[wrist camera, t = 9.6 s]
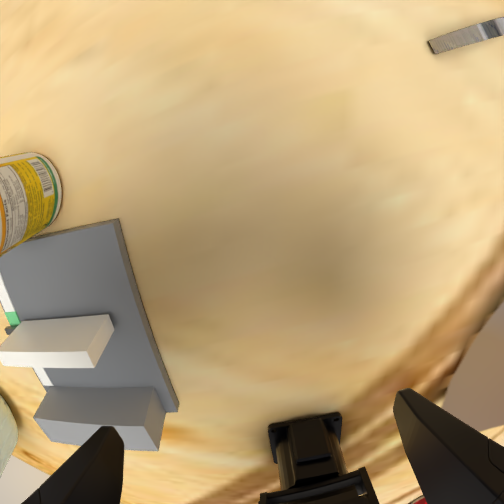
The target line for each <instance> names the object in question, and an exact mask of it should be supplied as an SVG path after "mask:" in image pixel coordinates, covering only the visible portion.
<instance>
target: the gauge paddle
mask: <svg viewBox="0 0 504 504" xmlns="http://www.w3.org/2000/svg"><path fill="white" fill-rule="evenodd" d="M5 331H6V333H7V335H9V336H8V337H7V339H6V340H5V341H4V342H3V343H2V344H1V346H0V360H1V362H2V364H3V366H16V367H38V368H95V366H96V364H97V362H98V360H99V358H100V356H101V354H102V352H103V351H104V349H105V347H106V345H107V343H108V341H109V339H110V337H111V335H112V333H113V332H114V327H113V324H112V322H111V319H110V317H109V314H105V315H94V316H83V317H72V318H59V319H46V320H32V321H22V322H21V323H20V324H19V325H18V326H9V327H6V328H5Z"/></svg>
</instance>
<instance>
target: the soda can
mask: <svg viewBox="0 0 504 504" xmlns="http://www.w3.org/2000/svg"><path fill="white" fill-rule="evenodd" d="M411 504H427V502H426V500H425V497H424V495H423V496H421V497H419V498H418V499H416V500H414V501H413V502H412V503H411Z"/></svg>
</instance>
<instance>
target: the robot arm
mask: <svg viewBox="0 0 504 504" xmlns="http://www.w3.org/2000/svg"><path fill="white" fill-rule="evenodd" d="M393 412H394V416H395V419H396V423H397V426H398V429H399V433H400V436H401V439H402V443H403V446H404V449H405V452H406V455H407V457H408V459H409V462H410V464H411V466H412V469H413V471H414V473H415V476H416V478H417V481H418V483H419V485H420V488H421V490H422V493H423V495H424V497H425V500H426V502H427V504H504V447H503V446H501V445H500V444H498V443H496V442H495V441H493V440H491V439H488V437H486V436H485V435H483V434H481V433H480V432H478V431H477V430H475V429H473V428H472V427H470V426H469V425H467V424H465V423H464V422H462V421H461V420H459V419H457V418H456V417H454V416H453V415H451V414H450V413H448V412H447V411H445V410H443V409H442V408H440V407H439V406H437V405H436V404H434V403H432V402H431V401H429V400H428V399H426V398H425V397H423V396H422V395H420V394H419V393H417V392H415V391H414V390H412V389H411V388H405V389H402V390H399V391H398V392H397V393H396V397H395V402H394V406H393ZM341 426H342V416H341V414H340V413H334V414H329V415H324V416H319V417H314V418H309V419H303V420H298V421H292V422H285V423H279V424H272V425H270V426H269V427H268V433H269V439H270V444H271V449H272V454H273V460H274V463H276V464H278V469H279V477H280V485H281V491H276V492H271V493H267V492H265V493H260V501H259V502H258V504H379V501H378V499H377V496H376V494H375V491H374V489H373V486H372V483H371V481H370V478H369V476H368V473H367V471H366V468H365V467H362V468H359V470H356V471H353V472H350V473H348V471H347V468H346V465H345V461H344V458H343V454H342V451H341V448H340V436H341ZM123 465H124V441H123V439H122V438H121V436H120V435H119V433H118V432H117V430H116V429H115V427H113V426H101V427H100V428H99V429H98V430H97V431H96V432H95V433H94V434H93V435H92V436H91V437H90V438H89V439H88V440H87V441H86V442H85V443H84V444H83V445H82V446H81V447H80V448H79V449H78V450H77V451H76V452H75V453H74V454H73V455H72V456H71V457H70V458H69V459H68V460H67V461H65V462H64V463H63V464H62V465H61V466H60V467H59V468H58V469H57V470H56V471H55V472H54V473H53V474H52V475H51V476H50V477H49V478H48V479H47V480H46V481H45V482H44V483H43V484H42V485H41V486H40V488H38V489H37V490H36V491H35V492H34V493H33V494H32V495H30V497H28V498H27V499H26V500H25V501H24V502H23V503H21V504H120V498H121V492H122V484H123ZM362 494H363V495H362ZM359 495H361V496H359Z"/></svg>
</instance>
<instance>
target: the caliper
mask: <svg viewBox="0 0 504 504" xmlns="http://www.w3.org/2000/svg"><path fill="white" fill-rule="evenodd" d="M502 35H504V17H502V18H498V19H493V20H490V21H486V22H483V23H479V24H476V25H473V26H469V27H466V28H463V29H460V30H457V31H454V32H451V33H448V34H446V35H443V36H440V37H437V38H435V39H432V40H429V43H430V45H431V47H432V48H433V50H434V52H435V54H437V53H441V52H444V51H447V50H451V49H455V48H458V47H462V46H465V45H469V44H472V43H476V42H480V41H484V40H487V39H490V38H494V37H498V36H502Z"/></svg>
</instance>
